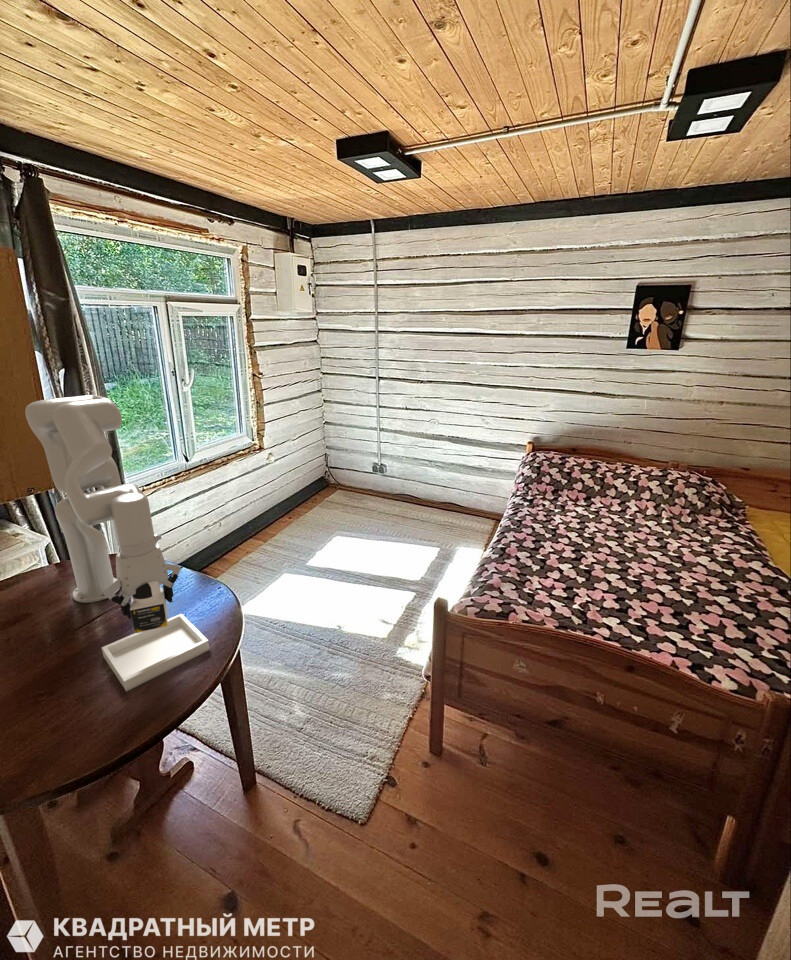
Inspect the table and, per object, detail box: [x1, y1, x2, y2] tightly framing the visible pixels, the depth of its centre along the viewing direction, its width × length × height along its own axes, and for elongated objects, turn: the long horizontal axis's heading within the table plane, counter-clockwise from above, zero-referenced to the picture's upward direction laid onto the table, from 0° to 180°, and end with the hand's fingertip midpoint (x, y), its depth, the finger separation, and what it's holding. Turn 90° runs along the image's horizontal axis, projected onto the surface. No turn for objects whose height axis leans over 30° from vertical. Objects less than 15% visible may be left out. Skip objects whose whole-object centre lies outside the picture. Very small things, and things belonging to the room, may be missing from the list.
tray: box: [101, 613, 210, 692], centre depth 119 cm, size 16×20×3 cm
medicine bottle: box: [130, 581, 169, 633], centre depth 114 cm, size 7×7×12 cm
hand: (149, 607), depth 115 cm, fingers closed on medicine bottle, 9 cm apart
